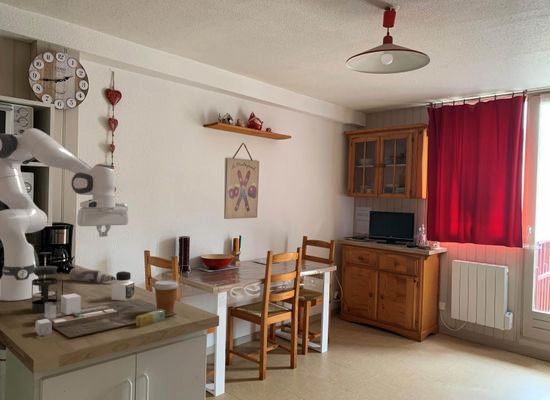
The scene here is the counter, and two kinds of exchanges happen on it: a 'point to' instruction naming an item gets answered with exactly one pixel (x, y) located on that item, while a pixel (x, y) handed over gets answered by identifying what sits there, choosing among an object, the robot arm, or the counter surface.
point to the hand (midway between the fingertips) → (103, 236)
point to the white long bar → (51, 313)
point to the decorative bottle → (89, 275)
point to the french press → (44, 287)
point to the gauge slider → (71, 304)
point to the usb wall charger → (43, 327)
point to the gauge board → (84, 316)
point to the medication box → (150, 318)
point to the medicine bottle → (123, 287)
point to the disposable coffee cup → (165, 294)
